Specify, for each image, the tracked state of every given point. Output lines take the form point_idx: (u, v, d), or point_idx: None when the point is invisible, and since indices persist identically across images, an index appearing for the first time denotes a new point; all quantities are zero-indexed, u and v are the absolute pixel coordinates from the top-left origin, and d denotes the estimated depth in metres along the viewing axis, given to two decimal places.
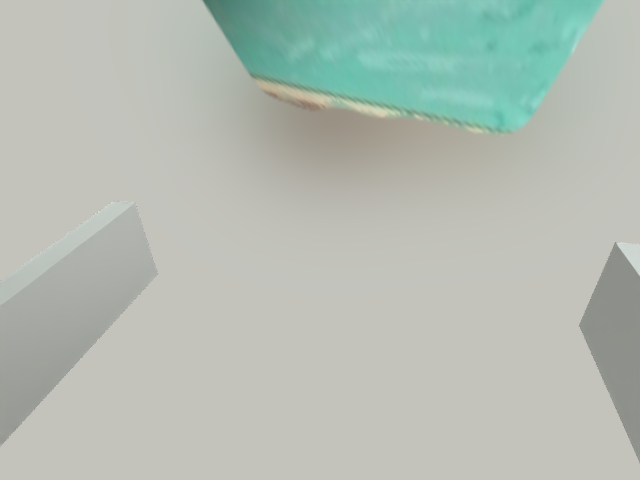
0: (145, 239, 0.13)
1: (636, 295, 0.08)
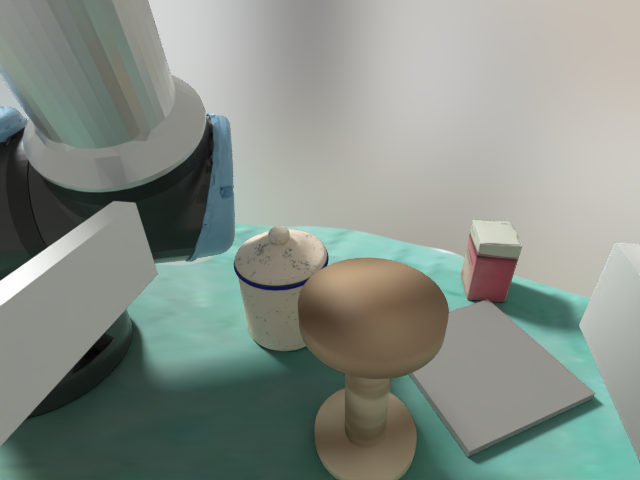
0: (145, 239, 0.13)
1: (636, 295, 0.08)
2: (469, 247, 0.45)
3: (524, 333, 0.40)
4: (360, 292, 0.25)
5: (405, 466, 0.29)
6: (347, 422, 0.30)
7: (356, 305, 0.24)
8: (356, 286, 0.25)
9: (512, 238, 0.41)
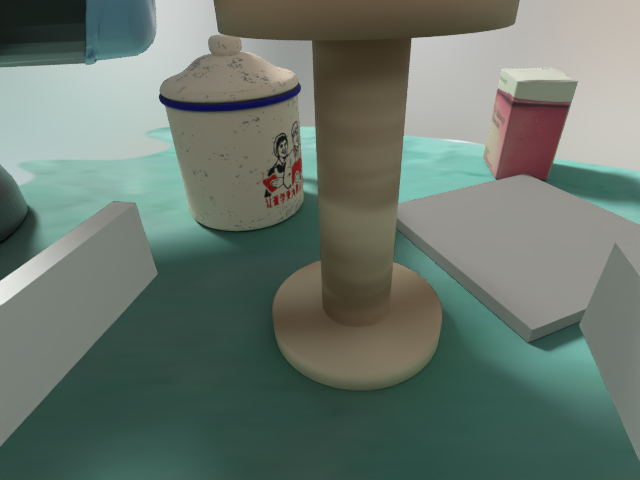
0: (145, 239, 0.13)
1: (636, 294, 0.08)
2: (497, 107, 0.33)
3: (585, 202, 0.28)
4: None
5: (426, 350, 0.17)
6: (325, 280, 0.17)
7: None
8: None
9: (562, 76, 0.29)
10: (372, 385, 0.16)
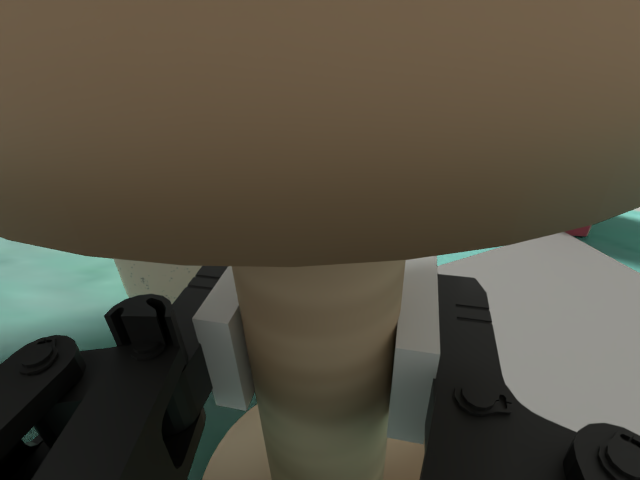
0: None
1: None
2: None
3: None
4: None
5: None
6: None
7: None
8: None
9: None
10: None
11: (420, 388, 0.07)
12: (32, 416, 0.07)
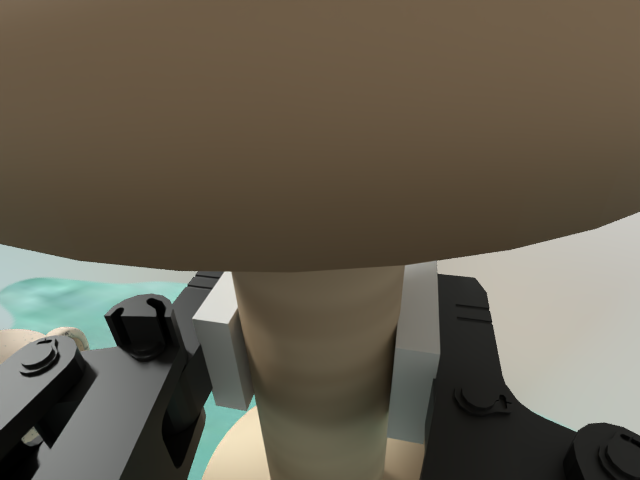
0: None
1: None
2: None
3: None
4: None
5: None
6: None
7: None
8: None
9: None
10: None
11: (420, 388, 0.07)
12: (32, 416, 0.07)
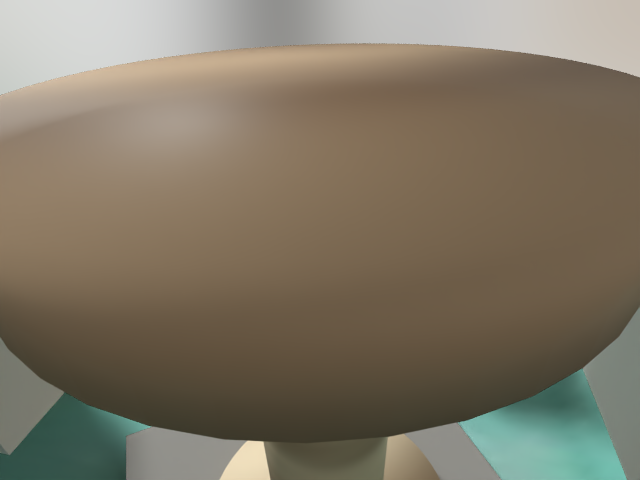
0: None
1: None
2: None
3: (459, 434, 0.16)
4: (274, 74, 0.06)
5: None
6: None
7: (240, 91, 0.05)
8: (265, 68, 0.07)
9: None
10: None
11: None
12: None
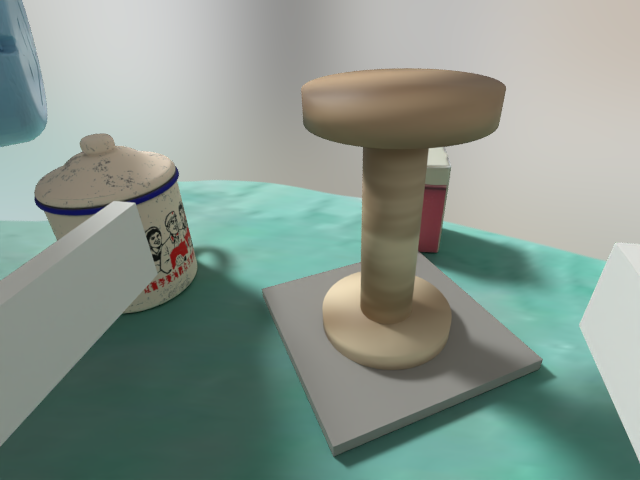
0: (145, 239, 0.13)
1: (636, 295, 0.08)
2: None
3: (454, 285, 0.29)
4: (383, 81, 0.19)
5: (440, 340, 0.23)
6: (364, 289, 0.24)
7: (379, 87, 0.18)
8: (378, 79, 0.19)
9: (439, 159, 0.31)
10: (400, 366, 0.22)
11: None
12: None
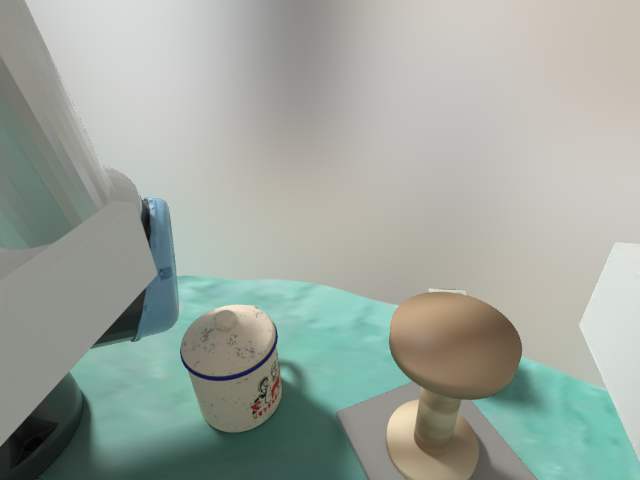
0: (145, 239, 0.13)
1: (636, 295, 0.08)
2: None
3: (477, 411, 0.39)
4: (442, 324, 0.29)
5: (472, 471, 0.33)
6: (420, 433, 0.34)
7: (441, 336, 0.28)
8: (437, 318, 0.30)
9: None
10: None
11: None
12: None
